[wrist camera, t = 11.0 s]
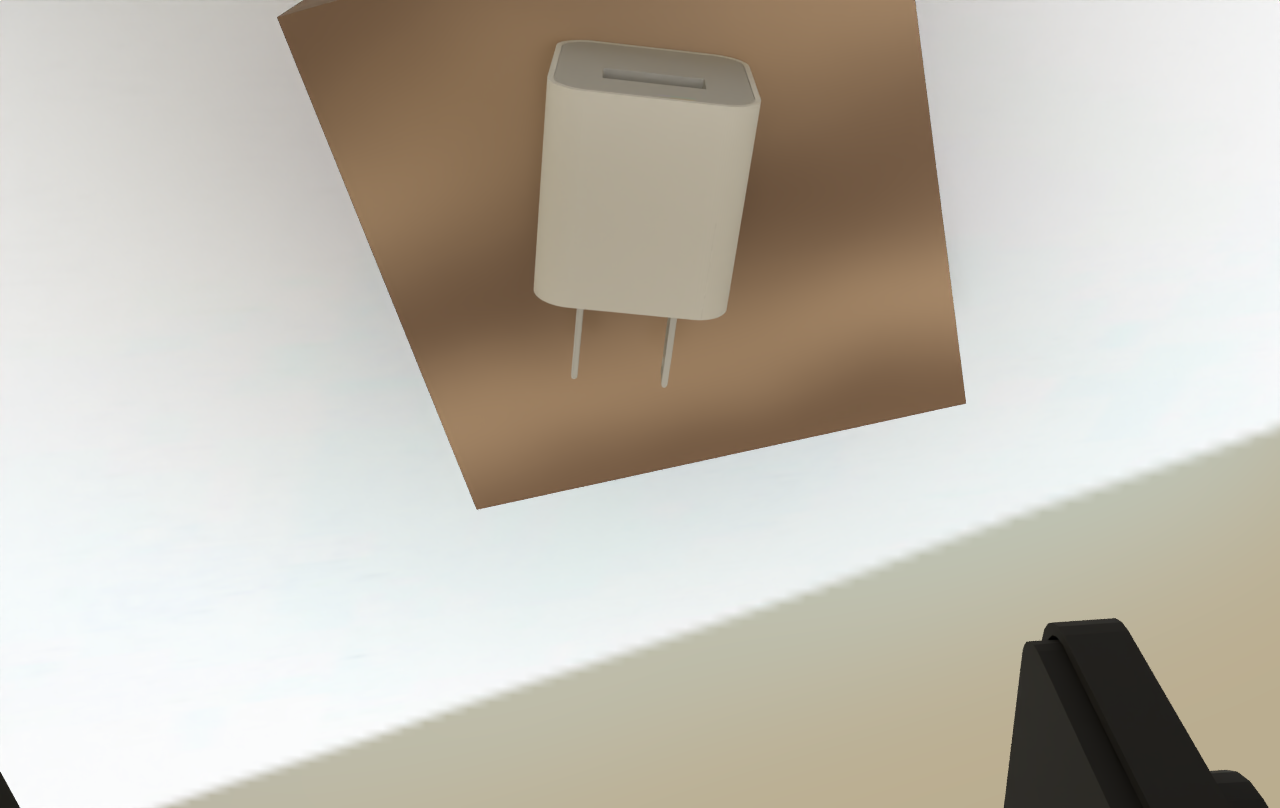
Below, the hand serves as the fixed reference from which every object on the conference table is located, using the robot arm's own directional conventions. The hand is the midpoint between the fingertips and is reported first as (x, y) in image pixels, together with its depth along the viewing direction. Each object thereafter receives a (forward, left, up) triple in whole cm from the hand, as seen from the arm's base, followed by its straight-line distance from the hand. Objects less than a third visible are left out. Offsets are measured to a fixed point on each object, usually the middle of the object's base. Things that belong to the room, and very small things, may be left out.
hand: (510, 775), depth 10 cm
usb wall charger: (+1, +1, -17) cm, 17 cm away
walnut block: (+1, +1, -23) cm, 23 cm away
